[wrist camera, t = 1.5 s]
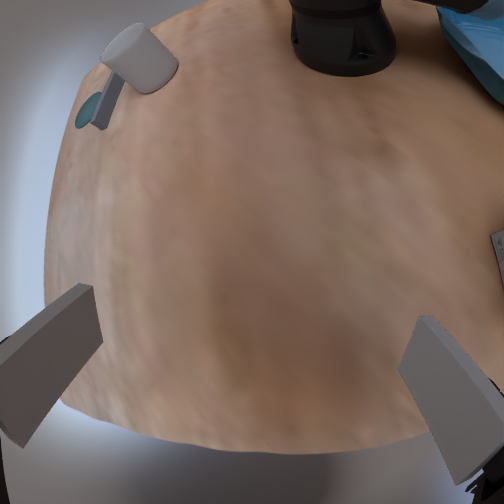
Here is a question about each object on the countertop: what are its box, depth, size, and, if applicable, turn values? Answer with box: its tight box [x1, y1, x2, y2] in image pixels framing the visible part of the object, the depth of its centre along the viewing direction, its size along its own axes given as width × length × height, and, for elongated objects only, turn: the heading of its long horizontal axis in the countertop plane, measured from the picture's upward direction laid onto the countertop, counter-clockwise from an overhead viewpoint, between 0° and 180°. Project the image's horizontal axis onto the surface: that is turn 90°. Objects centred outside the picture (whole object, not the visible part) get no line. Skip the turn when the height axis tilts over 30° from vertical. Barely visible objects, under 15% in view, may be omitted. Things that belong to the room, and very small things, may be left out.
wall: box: [90, 71, 125, 130], centre depth 44 cm, size 18×2×4 cm, turn 176°
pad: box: [75, 92, 102, 128], centre depth 49 cm, size 10×10×1 cm
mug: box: [100, 22, 178, 94], centre depth 36 cm, size 10×12×12 cm
